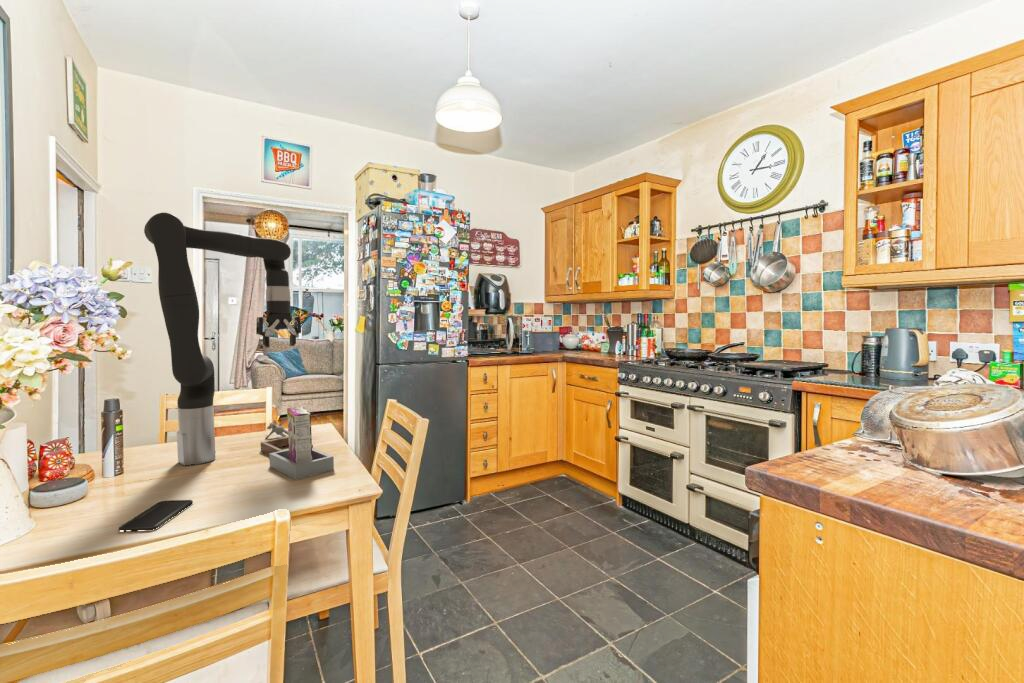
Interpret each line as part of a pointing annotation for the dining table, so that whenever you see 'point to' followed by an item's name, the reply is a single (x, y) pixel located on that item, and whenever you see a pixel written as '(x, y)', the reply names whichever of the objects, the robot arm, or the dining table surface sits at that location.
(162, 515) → the phone
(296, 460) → the candy bar box
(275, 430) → the elephant figurine
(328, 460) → the grey tray
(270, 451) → the walnut collar
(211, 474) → the dining table surface
